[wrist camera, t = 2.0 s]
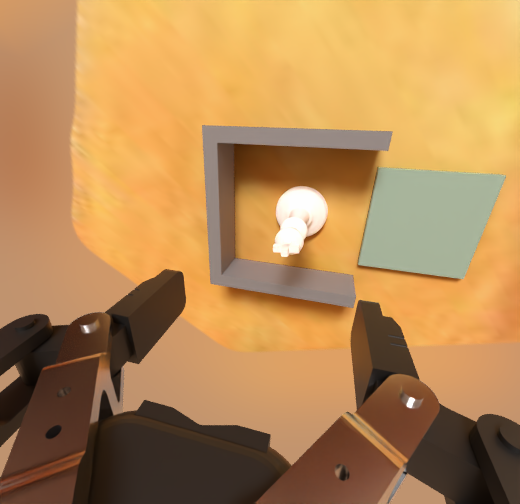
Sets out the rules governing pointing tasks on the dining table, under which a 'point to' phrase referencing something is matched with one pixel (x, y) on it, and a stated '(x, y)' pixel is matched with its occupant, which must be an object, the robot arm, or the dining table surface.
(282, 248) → the chess piece
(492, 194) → the mat
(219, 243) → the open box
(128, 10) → the dining table surface
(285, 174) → the dining table surface
